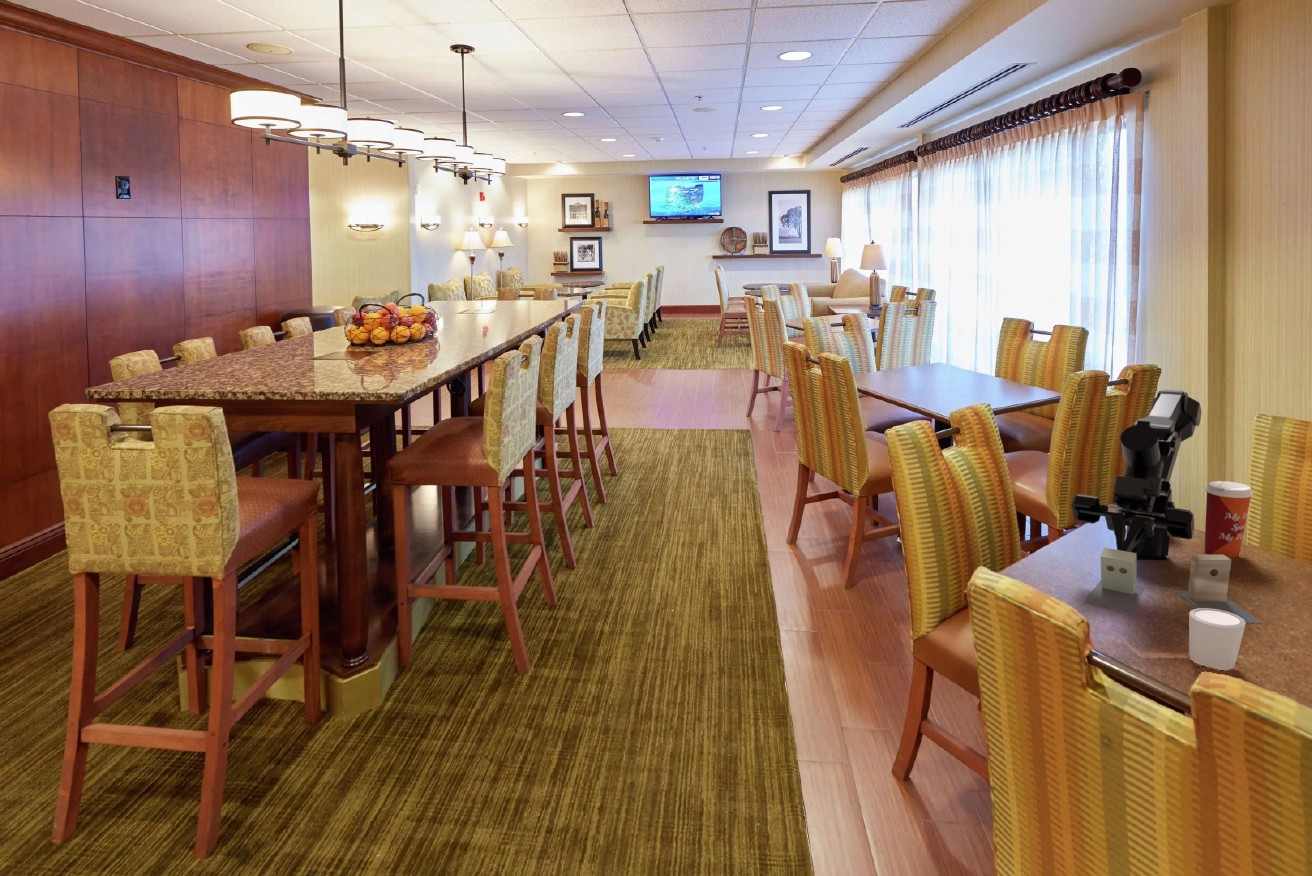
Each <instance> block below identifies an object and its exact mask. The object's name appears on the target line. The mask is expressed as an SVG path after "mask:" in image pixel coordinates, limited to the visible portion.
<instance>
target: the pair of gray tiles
mask: <svg viewBox="0 0 1312 876" xmlns="http://www.w3.org/2000/svg"><path fill="white" fill-rule="evenodd" d="M1145 590H1146V587H1145V586H1144V587H1143V586H1140V585H1137V586H1136V588H1135V591H1134V594H1133V595H1132V594H1127V593H1122V592H1118V591H1113V590H1108V589H1103V588H1101V579H1100V580H1099V582H1098V583H1097V584H1096V585H1095V587H1093V588H1092V590H1091V591H1090V593H1088V595H1087V596H1086V598H1085V599H1084V600H1083V603H1084V604H1088V605H1093V606H1098V607H1102V608H1106V609H1112V610H1115V611H1120V612H1125V613H1130V612H1131V610H1132V609H1133V607H1134V606H1135V604H1136V603H1137V601H1138V600H1139V598H1140V597H1141V595H1142V593H1143V592H1144V591H1145ZM1174 592H1175V593H1176V594H1178V595H1179V596H1180V597H1182V598H1183V599H1184V600H1186V601H1187V602H1188V603H1190V604H1191V605H1192V606H1194V608H1195V609H1198V608H1210V609H1218V610H1222V611H1227V612H1230V613H1233V614H1235V615H1238V616H1239V617H1241V618H1242V619H1244V621H1245V622H1246V624H1263V622H1262V621H1261V620H1259V618H1256V617H1255V616H1253V615H1252V614H1250V612H1248V611H1246V610H1245V609H1244V608H1243V607H1241V606H1239V605H1238V604H1236V603H1235V602H1234V601H1232V600H1231V599H1229V598H1228V597H1227V600H1226V602H1195V601H1194V600H1192V599H1191V598H1190V597H1188V590H1174Z"/></svg>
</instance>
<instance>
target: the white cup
mask: <svg viewBox="0 0 1312 876" xmlns="http://www.w3.org/2000/svg"><path fill="white" fill-rule="evenodd" d="M1246 624H1247V623H1246V622H1245V621H1244V619H1242V618H1241V617H1239V616H1238V615H1235V614H1233V613H1230V612H1227V611H1222V610H1218V609H1210V608H1195V609H1191V610H1190V611H1189V613H1188V658H1189V657H1190V658H1189V660H1190V661H1191V660H1192V661H1194V662H1195V663H1197V664H1199V665H1204V666H1210V667H1214V668H1215V669H1218V670H1217V671H1219V670H1224V671H1223V672H1225V671H1226V670H1227V671H1231V670H1234V669H1235V667H1236V663H1237V660H1238V657H1239V656H1238V655H1239V651H1240V648H1241V643H1242V640H1243V636H1244V633H1245V632H1244V631H1245V628H1246ZM1192 661H1191V662H1192ZM1194 662H1193V663H1194ZM1195 663H1194V664H1195ZM1197 664H1196V665H1197ZM1199 665H1198V666H1199ZM1230 669H1231V670H1230Z"/></svg>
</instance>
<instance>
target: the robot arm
mask: <svg viewBox="0 0 1312 876" xmlns="http://www.w3.org/2000/svg"><path fill="white" fill-rule="evenodd" d="M1156 394H1157V395H1156V396H1155V397H1154V398H1153V399H1152V403H1151V408H1150V412H1149V414H1148V416H1146V417H1142V418H1138V419H1137V420H1136V421H1135V422H1134V423H1133V425H1131V426H1129V427H1126V428H1125V429H1124V430H1123V432H1121V434H1120V443H1121V450H1122V456H1123V460H1124V461H1123V462H1124V463H1125V464H1126V466H1125V468H1124V473H1123V475H1116V476H1115V478H1114V479H1115V480H1114V484H1113V490H1112V494H1113V497H1112V502H1113V503H1115V504H1112V503H1108V505H1104V504H1101V503H1100V498H1099V496H1093V495H1089V494H1081V493H1078V494H1076V495H1075V496H1073V498H1072V500H1071V505H1070V506H1071V511H1072V513H1073V516H1074V520H1076V521H1077V522H1080V523H1081V522H1082V523H1086V524H1096V523H1097V522H1099V521H1100V520H1101V517H1104V518H1105V523H1106V527H1107V530H1109V531H1112V532H1113V534H1114V536H1115V542H1116V543H1115V544H1116V550H1121V551H1126V552H1132V553H1136V561H1169V560H1170V558H1168V556H1169V551H1170V541H1171V538H1172V537H1173V538H1177V539H1178V538H1179V539H1183V540H1191V539H1193V536H1194V531H1195V516H1194V513H1193V512H1192V510H1190V509H1183V508H1176V505H1175V501H1173V499H1172V498H1173V497H1172V496H1173V493H1172V492H1173V491H1172V489H1171V483H1170V481H1171V477H1172V474H1173V471H1174V467H1175V464H1176V461H1177V458H1178V454H1179V450H1180V447H1181V445H1182V444H1181V443H1182V442H1185V440H1187V439H1190V438H1191V437H1192V436H1193V435H1194V433H1195V431H1196V430H1195V429H1196V427H1199V426H1200V424H1201V419H1202V407H1201V403H1200V401H1197V400H1195V399H1193V398H1192V397H1190V396H1189V393H1188V392H1185V391H1184V390H1176V389H1175V390H1172V389H1162V390H1158V391H1157V393H1156Z"/></svg>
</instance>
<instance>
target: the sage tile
mask: <svg viewBox="0 0 1312 876" xmlns="http://www.w3.org/2000/svg"><path fill="white" fill-rule="evenodd" d="M1100 580H1101V588H1103V589H1108V590H1113V591H1118V592H1122V593H1127V594H1132V595H1133V594H1134V591H1135V588H1136V586H1138V584H1137V560H1136V553H1132V552H1126V551H1121V550H1117V549H1114V548H1109V547H1103V549H1102V552H1101V554H1100Z"/></svg>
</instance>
